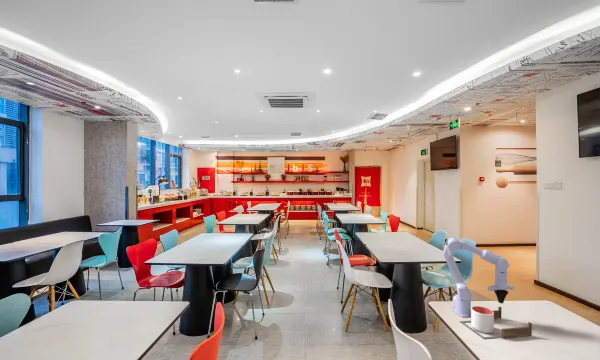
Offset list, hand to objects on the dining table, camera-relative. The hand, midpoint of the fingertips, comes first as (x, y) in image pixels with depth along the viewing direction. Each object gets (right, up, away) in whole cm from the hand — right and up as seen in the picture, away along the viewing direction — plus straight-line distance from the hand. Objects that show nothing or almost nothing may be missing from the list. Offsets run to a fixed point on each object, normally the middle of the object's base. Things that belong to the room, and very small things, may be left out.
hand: (500, 302), depth 161 cm
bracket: (-19, -9, -11) cm, 24 cm away
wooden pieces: (-6, -9, -9) cm, 14 cm away
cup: (-17, -10, -11) cm, 22 cm away
